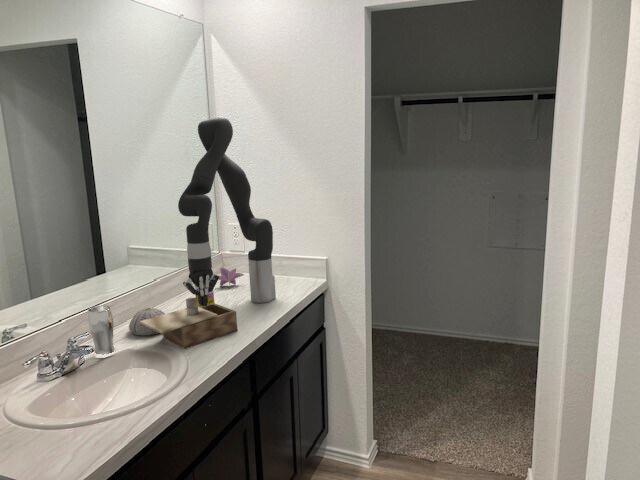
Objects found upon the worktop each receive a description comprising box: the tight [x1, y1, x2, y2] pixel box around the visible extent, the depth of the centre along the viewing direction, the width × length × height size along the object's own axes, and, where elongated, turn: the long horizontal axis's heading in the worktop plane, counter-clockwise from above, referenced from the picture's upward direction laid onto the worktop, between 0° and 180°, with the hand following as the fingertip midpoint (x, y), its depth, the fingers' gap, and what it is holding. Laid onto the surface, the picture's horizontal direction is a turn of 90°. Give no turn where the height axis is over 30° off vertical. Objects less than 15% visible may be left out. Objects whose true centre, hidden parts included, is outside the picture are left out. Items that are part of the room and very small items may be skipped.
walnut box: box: [162, 302, 238, 350], centre depth 171 cm, size 20×14×7 cm
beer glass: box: [87, 304, 116, 355], centre depth 156 cm, size 7×7×15 cm
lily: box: [218, 267, 245, 290], centre depth 225 cm, size 12×12×10 cm
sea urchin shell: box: [128, 307, 166, 336], centre depth 176 cm, size 13×14×8 cm
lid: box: [140, 297, 218, 334], centre depth 165 cm, size 20×14×6 cm
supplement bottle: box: [195, 290, 215, 307], centre depth 190 cm, size 7×7×13 cm
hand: (203, 305), depth 171 cm, fingers closed
